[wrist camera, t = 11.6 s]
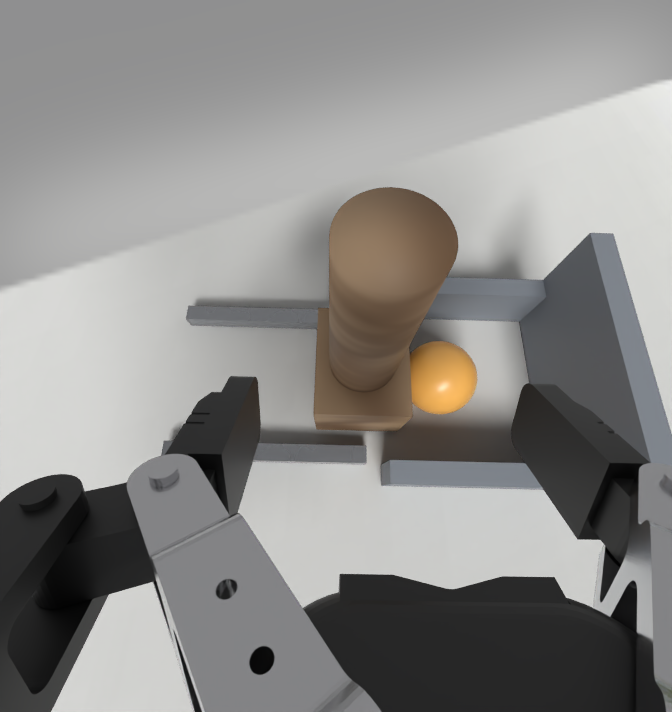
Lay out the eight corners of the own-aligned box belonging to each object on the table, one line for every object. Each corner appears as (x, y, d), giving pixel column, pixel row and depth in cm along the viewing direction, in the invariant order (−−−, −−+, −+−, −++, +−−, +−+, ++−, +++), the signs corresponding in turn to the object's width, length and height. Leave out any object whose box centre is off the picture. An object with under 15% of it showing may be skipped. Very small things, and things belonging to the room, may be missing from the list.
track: (167, 459, 23) (160, 458, 22) (193, 312, 26) (188, 305, 25) (364, 464, 23) (366, 463, 22) (364, 317, 26) (365, 310, 25)
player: (316, 429, 23) (297, 333, 9) (320, 340, 25) (309, 154, 11) (396, 431, 23) (496, 338, 9) (393, 342, 25) (471, 159, 11)
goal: (381, 485, 22) (408, 481, 15) (377, 302, 27) (397, 227, 19) (567, 490, 22) (687, 487, 15) (533, 306, 27) (613, 233, 19)
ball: (457, 419, 19) (456, 433, 23) (493, 347, 20) (486, 372, 24) (383, 383, 21) (394, 401, 25) (418, 318, 22) (424, 345, 26)
